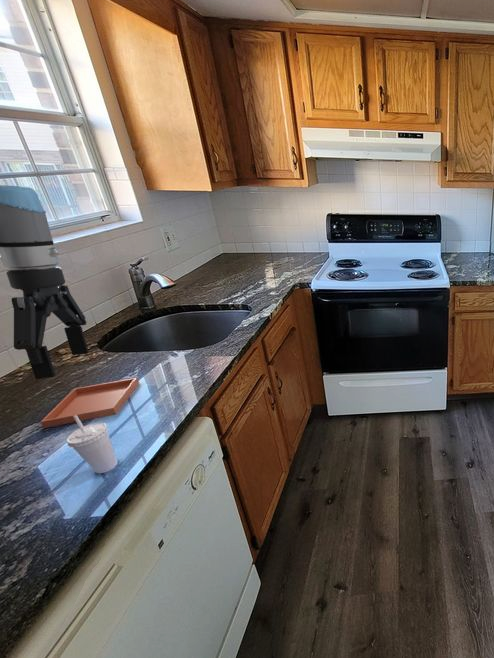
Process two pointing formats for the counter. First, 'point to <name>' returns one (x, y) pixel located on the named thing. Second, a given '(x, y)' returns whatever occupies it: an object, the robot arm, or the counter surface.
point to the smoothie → (93, 446)
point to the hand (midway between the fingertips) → (64, 364)
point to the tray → (91, 402)
